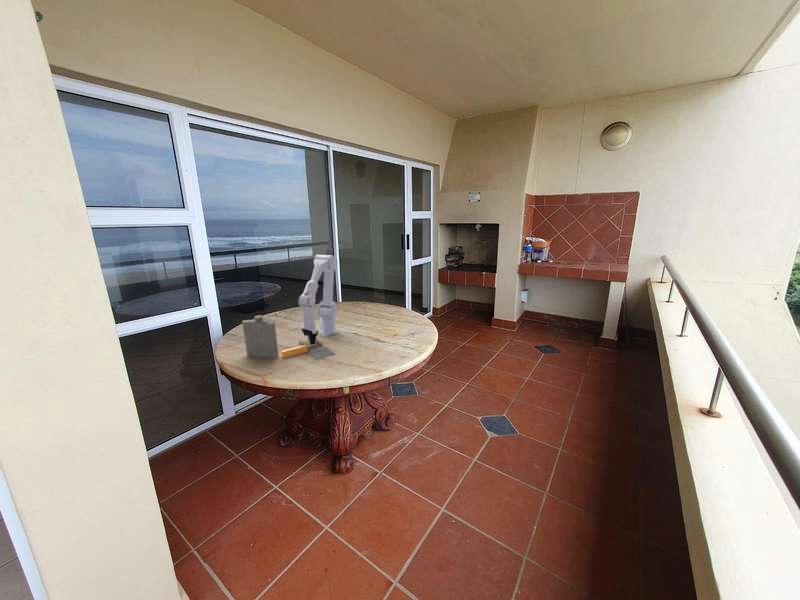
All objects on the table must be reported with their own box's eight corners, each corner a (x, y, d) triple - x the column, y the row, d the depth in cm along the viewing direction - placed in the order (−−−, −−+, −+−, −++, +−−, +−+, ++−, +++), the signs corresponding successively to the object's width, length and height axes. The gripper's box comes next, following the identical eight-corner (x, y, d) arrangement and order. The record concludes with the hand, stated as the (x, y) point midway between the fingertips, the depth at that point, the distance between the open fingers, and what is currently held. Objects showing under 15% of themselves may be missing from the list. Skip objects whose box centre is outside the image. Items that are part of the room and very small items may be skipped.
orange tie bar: (282, 356, 152) (281, 351, 152) (306, 350, 159) (305, 344, 159) (283, 358, 151) (282, 352, 150) (307, 351, 158) (307, 345, 157)
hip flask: (245, 356, 154) (239, 316, 148) (251, 352, 157) (245, 314, 152) (276, 358, 151) (271, 318, 145) (280, 354, 155) (276, 315, 149)
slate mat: (307, 352, 157) (307, 352, 157) (326, 347, 163) (326, 346, 163) (315, 360, 149) (315, 359, 149) (335, 354, 155) (335, 353, 155)
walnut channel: (299, 343, 167) (299, 340, 167) (314, 339, 172) (314, 336, 172) (306, 350, 160) (306, 346, 159) (322, 345, 165) (322, 342, 164)
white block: (304, 344, 166) (304, 335, 165) (313, 342, 169) (312, 333, 168) (308, 347, 163) (307, 338, 162) (316, 345, 166) (315, 336, 164)
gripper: (295, 315, 165) (297, 339, 169) (306, 323, 154) (308, 349, 158) (308, 312, 169) (310, 336, 173) (319, 320, 158) (321, 345, 162)
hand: (310, 342), depth 166 cm, fingers open, 5 cm apart
